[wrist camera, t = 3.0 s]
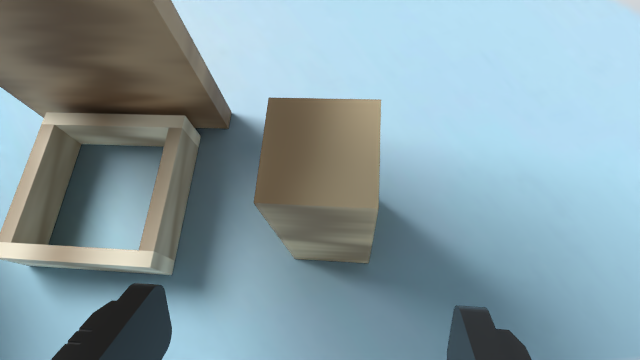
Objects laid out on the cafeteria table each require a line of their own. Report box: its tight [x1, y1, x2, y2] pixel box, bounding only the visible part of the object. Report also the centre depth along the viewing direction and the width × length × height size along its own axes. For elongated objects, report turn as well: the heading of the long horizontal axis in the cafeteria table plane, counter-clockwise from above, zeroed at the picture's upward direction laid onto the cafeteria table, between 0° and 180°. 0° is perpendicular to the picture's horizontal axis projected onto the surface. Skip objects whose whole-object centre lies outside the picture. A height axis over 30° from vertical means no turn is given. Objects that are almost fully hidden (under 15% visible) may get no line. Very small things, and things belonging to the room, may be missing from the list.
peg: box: [254, 98, 381, 263], centre depth 18 cm, size 4×4×10 cm
